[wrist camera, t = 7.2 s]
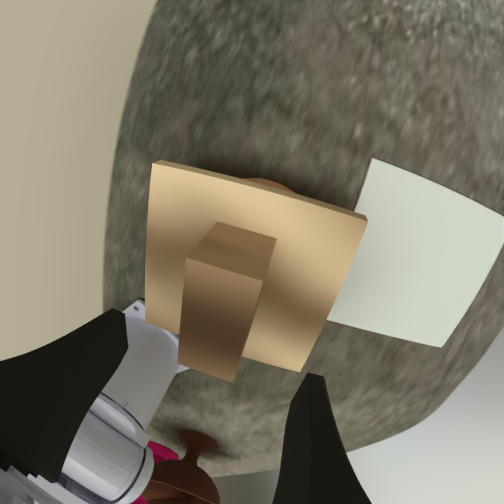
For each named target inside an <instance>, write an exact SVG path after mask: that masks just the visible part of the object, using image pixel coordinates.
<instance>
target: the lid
mask: <svg viewBox="0 0 504 504" xmlns="http://www.w3.org/2000/svg"><path fill="white" fill-rule="evenodd" d="M367 224H368V220H367V217H366V215H363V214H360V213H357V212H354V211H351V210H348V209H345V208H341V207H338V206H335V205H332V204H329V203H325V202H322V201H319V200H316V199H312V198H309V197H306V196H302V195H299V194H295V193H292V192H288V191H285V190H281V189H278V188H274V187H270V186H267V185H263V184H259V183H256V182H252V181H248V180H244V179H240V178H236V177H232V176H228V175H224V174H220V173H216V172H212V171H208V170H204V169H199V168H195V167H190V166H186V165H182V164H177V163H172V162H168V161H163V160H159V161H157V162H154V163H152V172H151V182H150V192H149V205H148V219H147V236H146V262H145V322H146V323H148V324H151V325H153V326H156V327H159V328H161V329H164V330H166V331H169V332H172V333H174V334H177V335H179V344H178V359H177V364H180V365H183V366H186V367H188V368H191V369H194V370H197V371H200V372H202V373H205V374H208V375H211V376H214V377H217V378H220V379H224V380H227V381H230V382H233V381H234V378H235V375H236V372H237V369H238V366H239V363H240V360H241V357H242V356H243V357H246V358H250V359H253V360H256V361H260V362H263V363H267V364H270V365H274V366H278V367H281V368H285V369H289V370H293V371H297V372H300V371H301V369H302V367H303V365H304V363H305V362H306V360H307V358H308V356H309V354H310V352H311V350H312V348H313V346H314V344H315V342H316V340H317V338H318V336H319V334H320V332H321V330H322V328H323V326H324V324H325V321H326V319H327V317H328V315H329V313H330V311H331V309H332V307H333V304H334V302H335V300H336V298H337V296H338V293H339V291H340V289H341V287H342V284H343V282H344V280H345V278H346V275H347V273H348V271H349V268H350V266H351V264H352V261H353V259H354V256H355V254H356V252H357V249H358V247H359V244H360V242H361V239H362V237H363V234H364V232H365V229H366V226H367Z"/></svg>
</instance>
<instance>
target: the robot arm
mask: <svg viewBox="0 0 504 504" xmlns="http://www.w3.org/2000/svg"><path fill="white" fill-rule="evenodd" d="M137 307H138V308H137ZM178 344H179V337H178V336H177V335H176V334H174V333H172V332H169V331H166V330H164V329H161V328H159V327H156V326H153V325H151V324H148V323H146V322H145V302H144V301H142V300H140V299H138V300H136V301H135V302H134V303H133V304H131V305H130V306H129V307H127V308H126V309H125V310H124V311H122V312H120V311H118V310H115V309H113V308H112V309H110V310H109V311H107V312H105V313H103V314H102V315H100V316H98V317H96V318H95V319H93V320H91V321H90V322H88V323H86V324H84V325H83V326H81V327H79V328H78V329H76V330H74V331H72V332H70V333H69V334H67V335H65V336H63V337H61V338H59V339H57V340H55V341H53V342H51V343H49V344H47V345H45V346H43V347H40V348H38V349H36V350H33V351H31V352H28V353H25V354H23V355H19V356H16V357H13V358H10V359H6V360H3V361H0V504H130V503H132V502H133V501H135V500H136V499H137V498H138V497H139V496H140V495H141V493H142V492H143V491H144V489H145V488H146V486H147V484H148V482H149V480H150V478H151V475H152V472H153V468H154V459H153V453H152V450H151V449H150V448H149V447H148V446H147V444H148V442H149V440H150V437H151V436H150V435H148V434H147V433H146V430H147V428H148V426H149V424H150V422H151V420H152V418H153V416H154V414H155V412H156V411H157V409H158V407H159V405H160V403H161V401H162V399H163V397H164V395H165V393H166V391H167V389H168V387H169V385H170V384H171V382H172V380H173V378H174V376H175V374H177V373H180V372H182V371H185V370H187V369H189V368H188V367H186V366H183V365H180V364H177V359H178ZM272 504H372V503H371V502H370V500H369V498H368V497H367V495H366V493H365V491H364V490H363V488H362V486H361V485H360V482H359V481H358V479H357V477H356V475H355V473H354V470H353V468H352V466H351V464H350V462H349V459H348V457H347V454H346V452H345V449H344V446H343V444H342V441H341V438H340V435H339V432H338V429H337V426H336V422H335V419H334V416H333V412H332V408H331V405H330V401H329V397H328V392H327V388H326V383H325V379H324V377H323V376H320V375H315V374H311V373H307V374H306V376H305V378H304V380H303V382H302V383H301V385H300V387H299V389H298V391H297V392H296V394H295V396H294V398H293V399H292V401H291V404H290V408H289V412H288V417H287V421H286V426H285V434H284V442H283V451H282V459H281V467H280V474H279V479H278V484H277V488H276V492H275V496H274V499H273V503H272Z"/></svg>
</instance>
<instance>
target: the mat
mask: <svg viewBox="0 0 504 504" xmlns="http://www.w3.org/2000/svg"><path fill="white" fill-rule="evenodd" d="M354 212H357V213H360V214H363V215H366V217H367V220H368V224H367V226H366V229H365V232H364V234H363V237H362V239H361V242H360V244H359V247H358V249H357V252H356V254H355V256H354V259H353V261H352V264H351V266H350V268H349V271H348V273H347V275H346V278H345V280H344V282H343V284H342V287H341V289H340V291H339V293H338V296H337V298H336V300H335V302H334V304H333V307H332V309H331V311H330V313H329V315H328V317H327V319H326V320H330V321H334V322H337V323H341V324H345V325H349V326H353V327H357V328H360V329H364V330H368V331H372V332H376V333H380V334H384V335H388V336H393V337H397V338H401V339H405V340H409V341H414V342H418V343H422V344H427V345H431V346H436V347H440V348H441V347H442V346H443V345H444V343H445V342H446V340H447V339H448V338H449V336H450V335H451V333H452V332H453V330H454V329H455V328H456V326H457V325H458V323H459V322H460V320H461V318H462V317H463V315H464V314H465V312H466V311H467V309H468V308H469V306H470V304H471V303H472V301H473V299H474V298H475V296H476V294H477V293H478V291H479V289H480V287H481V286H482V284H483V282H484V280H485V279H486V277H487V275H488V273H489V271H490V269H491V267H492V265H493V263H494V262H495V260H496V258H497V256H498V254H499V251H500V249H501V247H502V245H503V243H504V216H502V215H500V214H499V213H497V212H495V211H493V210H491V209H489V208H487V207H485V206H484V205H482V204H480V203H478V202H476V201H474V200H472V199H470V198H468V197H466V196H464V195H462V194H459V193H457V192H455V191H453V190H451V189H449V188H447V187H444V186H442V185H440V184H438V183H436V182H433V181H431V180H429V179H426V178H424V177H422V176H419V175H417V174H414V173H412V172H409V171H407V170H404V169H402V168H399V167H397V166H394V165H392V164H389V163H386V162H384V161H381V160H378V159H375V158H373V157H371V159H370V163H369V166H368V169H367V172H366V175H365V178H364V181H363V184H362V187H361V190H360V193H359V196H358V199H357V202H356V205H355V208H354Z"/></svg>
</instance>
